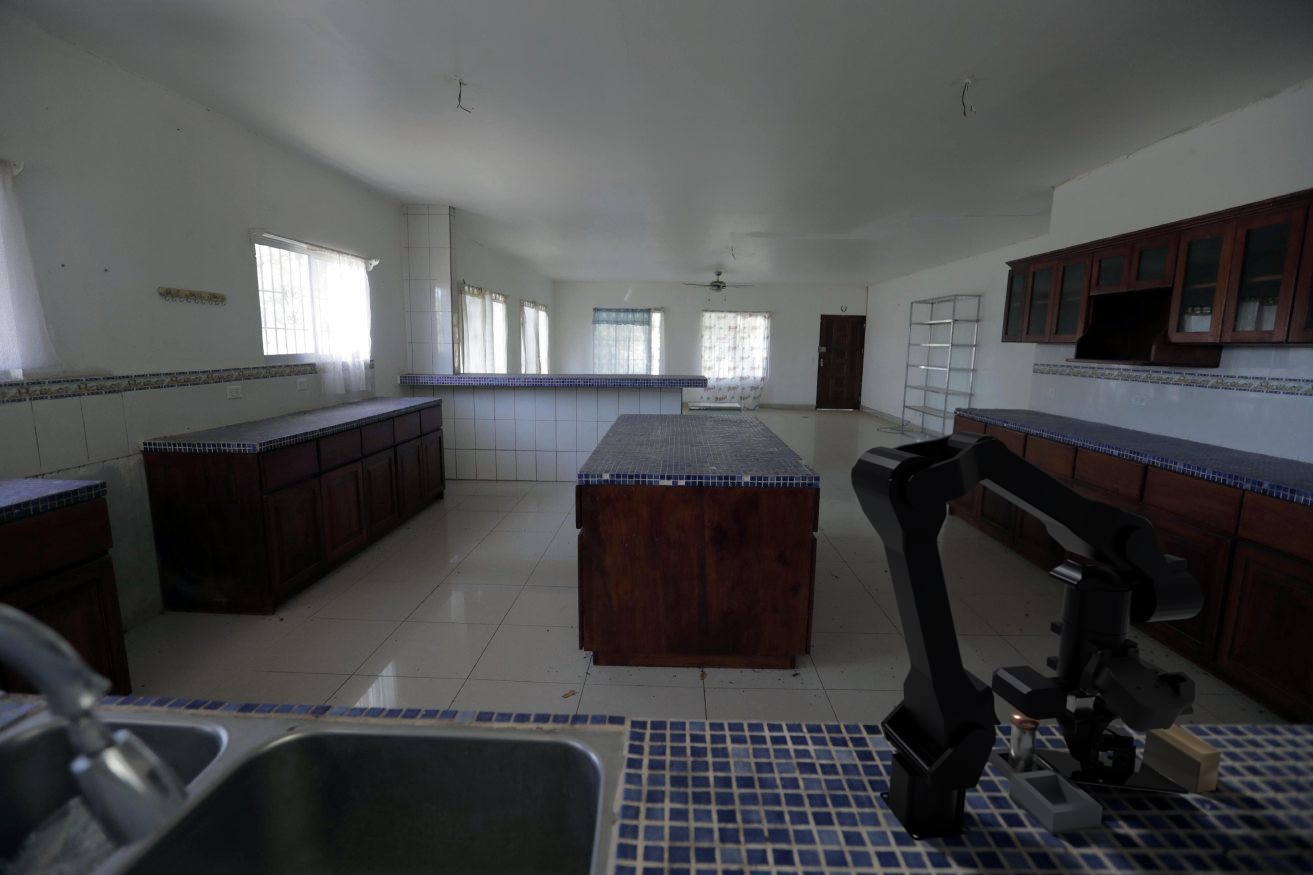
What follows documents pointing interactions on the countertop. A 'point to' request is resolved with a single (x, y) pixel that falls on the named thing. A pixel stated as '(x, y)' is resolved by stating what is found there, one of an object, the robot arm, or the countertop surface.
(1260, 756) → the countertop surface
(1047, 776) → the tray
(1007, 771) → the pin socket
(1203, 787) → the rail
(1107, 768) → the build plate
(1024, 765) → the pin
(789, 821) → the countertop surface
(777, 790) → the countertop surface
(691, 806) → the countertop surface
